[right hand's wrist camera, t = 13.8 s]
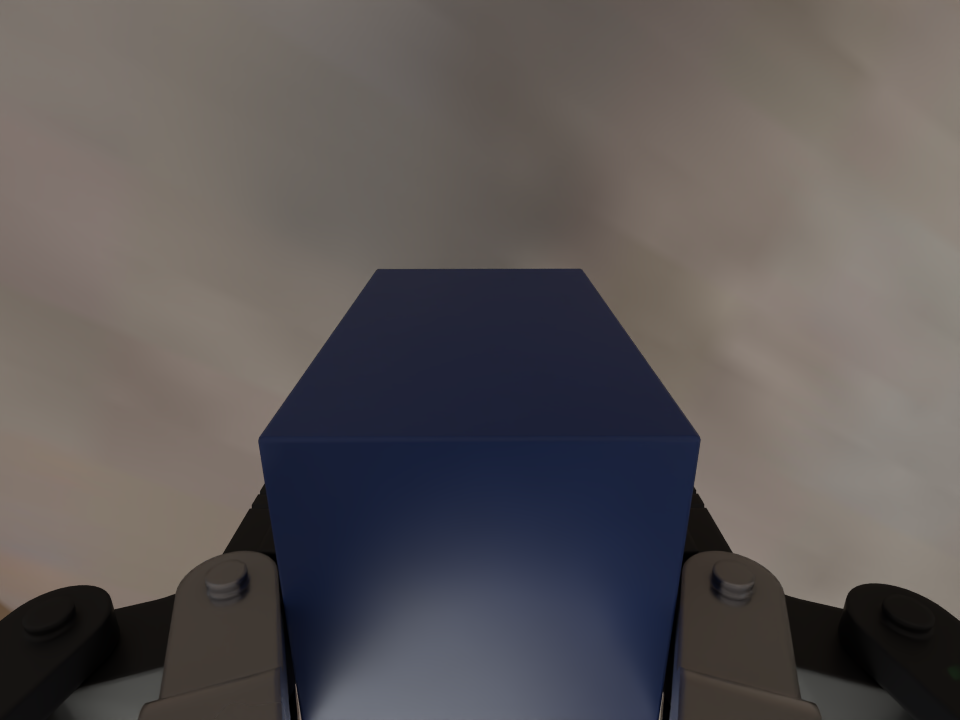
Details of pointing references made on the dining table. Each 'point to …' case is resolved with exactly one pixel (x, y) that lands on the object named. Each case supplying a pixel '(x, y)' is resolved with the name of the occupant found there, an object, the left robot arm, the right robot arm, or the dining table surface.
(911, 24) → the dining table surface
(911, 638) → the right robot arm
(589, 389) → the bar
